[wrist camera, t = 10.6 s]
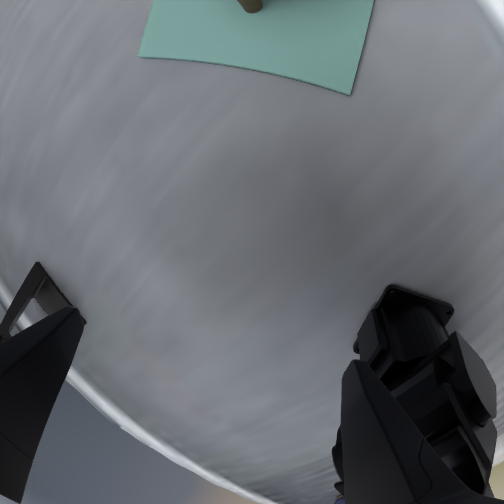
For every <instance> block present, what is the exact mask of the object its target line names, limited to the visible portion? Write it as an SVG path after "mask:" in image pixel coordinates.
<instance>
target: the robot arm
mask: <svg viewBox="0 0 504 504" xmlns="http://www.w3.org/2000/svg"><path fill="white" fill-rule="evenodd" d="M391 291H394V293H393V294H389V292H391ZM447 310H449V311H448V312H447ZM453 313H454V308H453V307H452V305H451V304H448V303H445V302H442V301H439V300H436V299H433V298H430V297H427V296H424V295H421V294H418V293H415V292H412V291H409V290H406V289H403V288H400V287H397V286H394V285H390V286H388V287H386V289H385V290H384V292H383V294H382V296H381V298H380V300H379V302H378V303H377V305H376V307H375V308H373V309H372V310H371V311H370V313H369V315H368V316H367V318H366V320H365V322H364V323H363V325H362V327H361V329H360V330H359V332H358V334H357V335H358V338H357V340H356V341H355V343H354V345H353V350H354V352H355V353H357V354H360V360H352V361H351V362H350V364H349V366H348V368H347V369H346V371H345V373H344V374H343V377H342V398H341V424H340V427H339V429H338V432H337V440H336V445H335V446H333V448H332V458H333V463H334V466H335V469H336V472H337V474H338V476H339V478H340V479H341V481H339V482H336V483H335V484H334V487H335V488H336V489H337V490H338V491H339V492H340V493H341V494H342V495H343V496H344V497H345V504H504V500H501V499H496V498H494V495H493V493H492V490H491V487H490V485H489V477H490V473H491V468H492V463H493V458H494V452H495V446H496V439H497V430H496V428H495V425H494V423H493V421H492V420H493V419H494V418H495V417H496V385H495V383H494V380H493V378H492V377H491V375H490V373H489V371H488V369H487V367H486V365H485V363H484V361H483V360H482V359H481V358H480V357H479V355H478V354H477V353H476V352H475V351H474V350H473V349H472V348H471V346H470V345H469V344H468V343H467V342H466V341H465V340H464V339H463V338H462V337H461V336H460V334H459V333H458V332H457V331H454V332H453V333H452V334H451V335H450V336H449V334H448V332H447V330H446V328H445V326H446V324H447V323H448V321H449V319H450V318H451V316H452V315H453ZM83 328H84V327H83V322H82V319H81V315H80V312H79V310H78V309H77V308H75V307H72V306H65V307H63V308H62V309H60V310H58V311H56V312H54V313H53V314H51V315H49V316H47V317H46V318H44V319H42V320H40V321H38V322H37V323H35V324H33V325H32V326H30V327H28V328H26V329H25V330H23V331H21V332H19V333H18V334H16V335H14V336H13V337H11V338H9V339H7V340H6V341H4V342H2V343H1V344H0V494H1V495H3V496H5V497H7V498H9V499H11V500H13V501H15V502H17V503H19V504H20V503H21V501H22V497H23V493H24V490H25V486H26V483H27V479H28V476H29V472H30V469H31V466H32V463H33V459H34V456H35V453H36V451H37V447H38V445H39V442H40V439H41V436H42V433H43V431H44V428H45V425H46V423H47V420H48V418H49V415H50V413H51V410H52V408H53V405H54V403H55V401H56V398H57V396H58V394H59V391H60V389H61V387H62V384H63V382H64V380H65V378H66V376H67V373H68V371H69V369H70V366H71V364H72V361H73V358H74V355H75V352H76V349H77V347H78V344H79V341H80V338H81V336H82V333H83ZM358 347H359V348H358Z"/></svg>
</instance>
